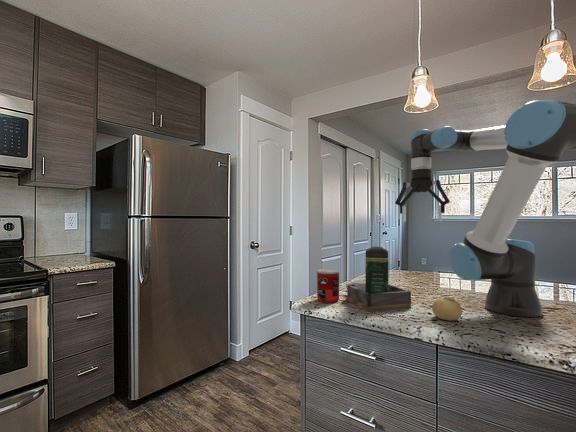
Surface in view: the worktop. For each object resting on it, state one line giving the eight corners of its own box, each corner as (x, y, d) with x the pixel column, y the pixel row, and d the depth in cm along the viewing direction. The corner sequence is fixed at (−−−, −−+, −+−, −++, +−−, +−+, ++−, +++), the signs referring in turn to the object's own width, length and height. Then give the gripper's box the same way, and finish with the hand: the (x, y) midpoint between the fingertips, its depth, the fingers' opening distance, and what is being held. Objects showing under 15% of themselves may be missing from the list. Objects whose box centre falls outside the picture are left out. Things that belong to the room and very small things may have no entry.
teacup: (369, 292, 124) (369, 279, 124) (373, 297, 117) (373, 283, 117) (344, 292, 125) (344, 279, 125) (346, 297, 118) (346, 283, 118)
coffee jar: (389, 303, 103) (389, 248, 103) (365, 301, 105) (364, 247, 105) (387, 296, 112) (387, 245, 112) (365, 295, 114) (365, 245, 114)
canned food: (315, 298, 116) (315, 269, 116) (335, 297, 117) (335, 268, 117) (319, 303, 108) (319, 272, 108) (341, 302, 109) (341, 272, 109)
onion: (428, 319, 91) (428, 295, 91) (436, 313, 97) (435, 290, 97) (459, 325, 86) (458, 300, 86) (464, 318, 92) (464, 294, 92)
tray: (410, 307, 103) (410, 291, 103) (368, 311, 99) (368, 294, 99) (383, 296, 118) (383, 282, 118) (346, 299, 114) (346, 284, 114)
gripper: (457, 167, 120) (457, 221, 120) (392, 173, 134) (392, 221, 134) (455, 165, 114) (455, 221, 114) (387, 171, 128) (387, 221, 128)
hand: (421, 221), depth 124 cm, fingers open, 13 cm apart
